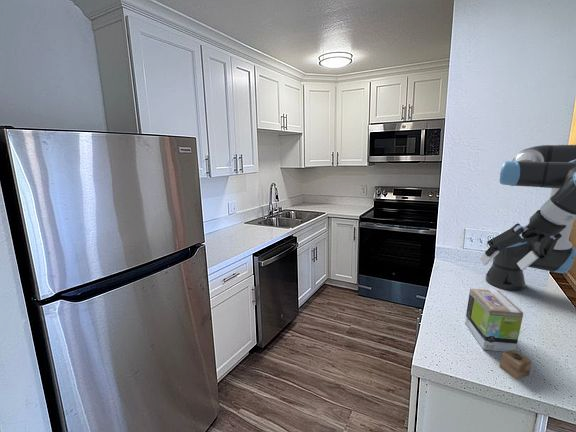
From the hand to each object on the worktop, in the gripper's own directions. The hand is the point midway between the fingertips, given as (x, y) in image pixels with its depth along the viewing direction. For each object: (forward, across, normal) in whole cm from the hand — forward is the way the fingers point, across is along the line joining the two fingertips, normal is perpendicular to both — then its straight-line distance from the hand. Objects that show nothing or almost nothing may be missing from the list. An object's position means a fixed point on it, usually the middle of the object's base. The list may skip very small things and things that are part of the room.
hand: (501, 264), depth 96 cm
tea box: (+24, +5, -13) cm, 27 cm away
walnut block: (+17, +1, -27) cm, 32 cm away
